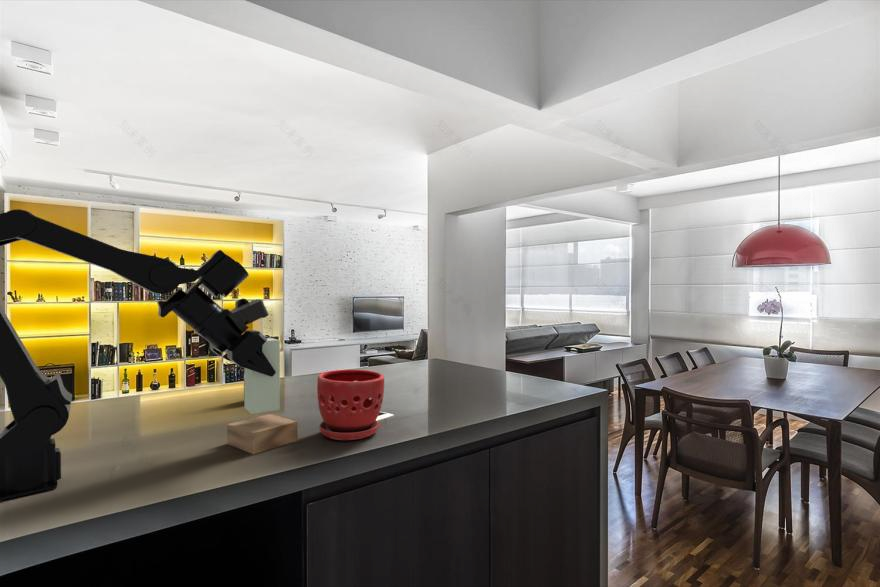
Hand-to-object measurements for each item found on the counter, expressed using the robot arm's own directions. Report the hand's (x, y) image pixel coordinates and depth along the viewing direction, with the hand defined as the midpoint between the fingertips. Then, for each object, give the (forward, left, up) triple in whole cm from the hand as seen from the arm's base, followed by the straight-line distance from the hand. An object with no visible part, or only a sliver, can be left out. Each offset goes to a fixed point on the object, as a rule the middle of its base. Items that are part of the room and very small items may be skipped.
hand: (269, 372), depth 87 cm
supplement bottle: (+10, +33, -13) cm, 37 cm away
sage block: (-1, 0, -7) cm, 7 cm away
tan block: (-1, 0, -13) cm, 13 cm away
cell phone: (+23, +5, -14) cm, 27 cm away
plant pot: (+14, -7, -13) cm, 20 cm away
